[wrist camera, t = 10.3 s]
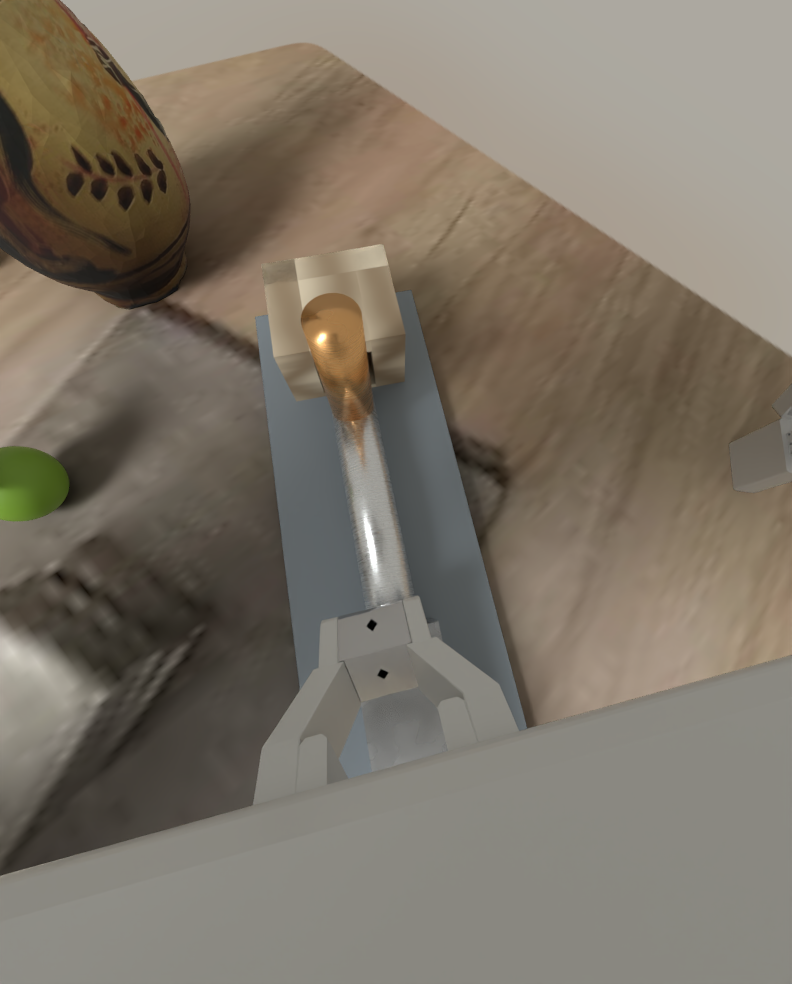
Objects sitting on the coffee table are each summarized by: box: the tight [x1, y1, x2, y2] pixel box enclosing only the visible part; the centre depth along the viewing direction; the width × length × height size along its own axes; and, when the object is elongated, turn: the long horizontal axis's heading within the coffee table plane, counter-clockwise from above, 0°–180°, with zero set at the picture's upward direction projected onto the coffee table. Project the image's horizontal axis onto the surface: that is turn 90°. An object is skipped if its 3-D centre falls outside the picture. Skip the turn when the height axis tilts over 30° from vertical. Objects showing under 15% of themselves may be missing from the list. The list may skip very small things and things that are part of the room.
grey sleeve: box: [361, 618, 448, 772], centre depth 21 cm, size 5×16×5 cm, turn 12°
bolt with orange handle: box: [301, 293, 415, 610], centre depth 22 cm, size 3×24×11 cm, turn 12°
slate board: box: [255, 290, 527, 779], centre depth 28 cm, size 14×45×1 cm, turn 12°
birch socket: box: [261, 244, 406, 401], centre depth 29 cm, size 9×8×6 cm
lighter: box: [729, 384, 792, 493], centre depth 27 cm, size 7×2×8 cm, turn 171°
